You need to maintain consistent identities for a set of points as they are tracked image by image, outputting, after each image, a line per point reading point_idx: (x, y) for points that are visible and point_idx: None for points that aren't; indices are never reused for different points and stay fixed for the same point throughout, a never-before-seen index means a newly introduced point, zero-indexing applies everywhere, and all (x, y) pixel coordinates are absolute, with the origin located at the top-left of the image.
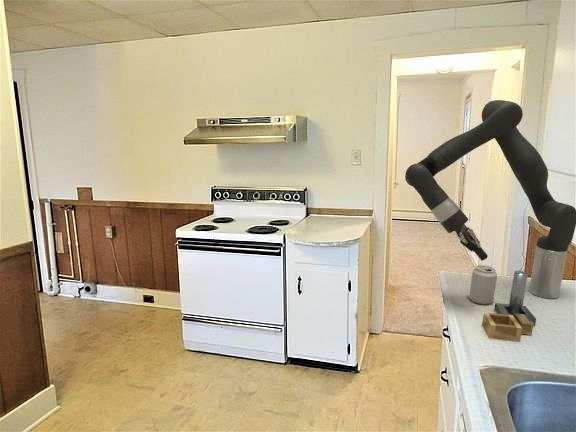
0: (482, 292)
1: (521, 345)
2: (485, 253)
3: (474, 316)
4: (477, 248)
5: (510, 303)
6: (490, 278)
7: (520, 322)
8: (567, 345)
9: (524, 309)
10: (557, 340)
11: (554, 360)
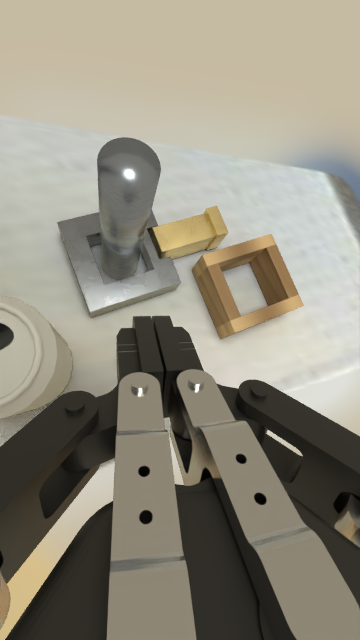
0: (67, 357)
1: None
2: (157, 329)
3: None
4: (229, 388)
5: (134, 258)
6: (49, 323)
7: (209, 239)
8: (206, 158)
9: (93, 226)
10: (194, 173)
11: (291, 191)
